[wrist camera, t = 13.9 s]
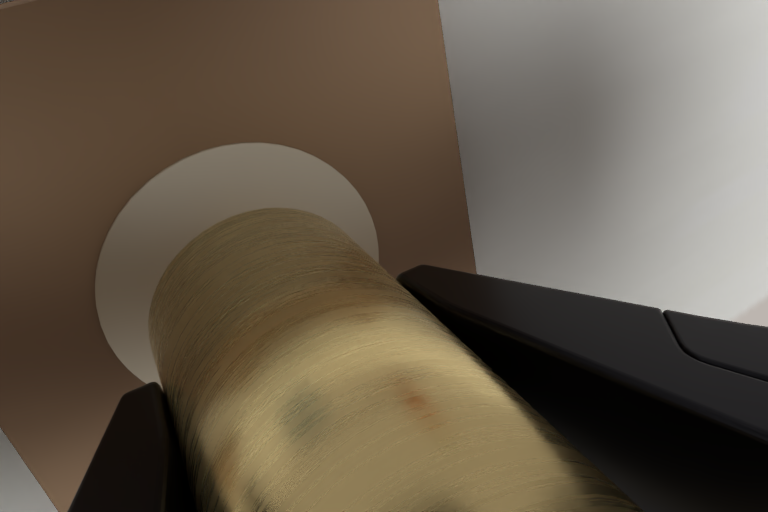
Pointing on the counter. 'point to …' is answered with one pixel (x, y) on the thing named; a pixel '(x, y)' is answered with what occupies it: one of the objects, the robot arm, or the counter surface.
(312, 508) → the pin
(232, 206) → the build board
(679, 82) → the counter surface
